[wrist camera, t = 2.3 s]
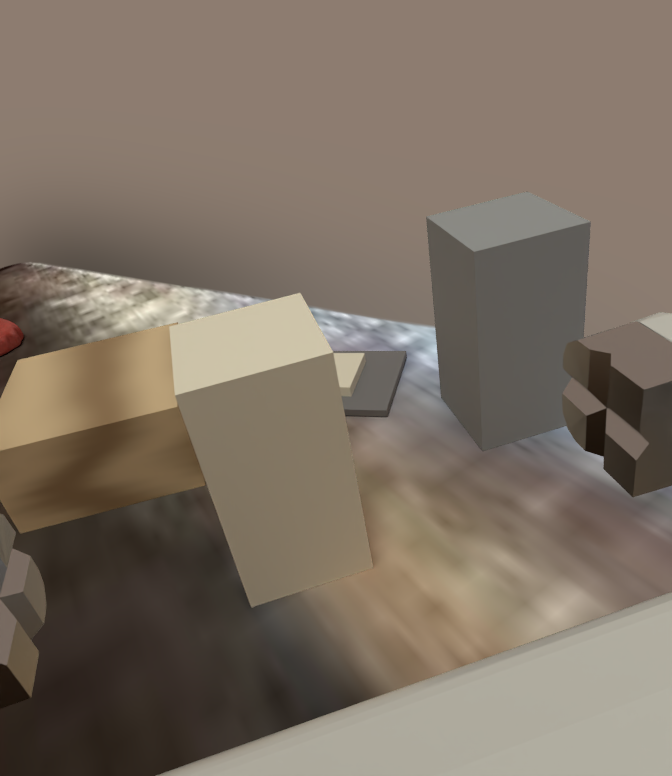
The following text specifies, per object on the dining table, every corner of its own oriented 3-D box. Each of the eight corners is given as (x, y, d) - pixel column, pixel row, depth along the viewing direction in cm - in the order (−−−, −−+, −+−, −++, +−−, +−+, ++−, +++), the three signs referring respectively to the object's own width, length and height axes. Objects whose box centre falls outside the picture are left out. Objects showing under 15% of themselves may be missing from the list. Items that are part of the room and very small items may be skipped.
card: (248, 412, 36) (244, 398, 35) (283, 356, 41) (279, 343, 40) (387, 416, 33) (385, 401, 33) (406, 356, 38) (404, 342, 38)
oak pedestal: (22, 537, 30) (-27, 457, 28) (53, 431, 38) (17, 360, 35) (206, 489, 31) (177, 406, 29) (201, 394, 39) (177, 322, 36)
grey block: (482, 451, 30) (474, 251, 25) (441, 397, 34) (426, 216, 29) (578, 422, 31) (590, 221, 25) (526, 372, 35) (527, 191, 29)
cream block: (250, 607, 25) (174, 395, 19) (235, 520, 29) (169, 326, 23) (373, 568, 25) (333, 352, 20) (340, 489, 29) (300, 292, 24)
